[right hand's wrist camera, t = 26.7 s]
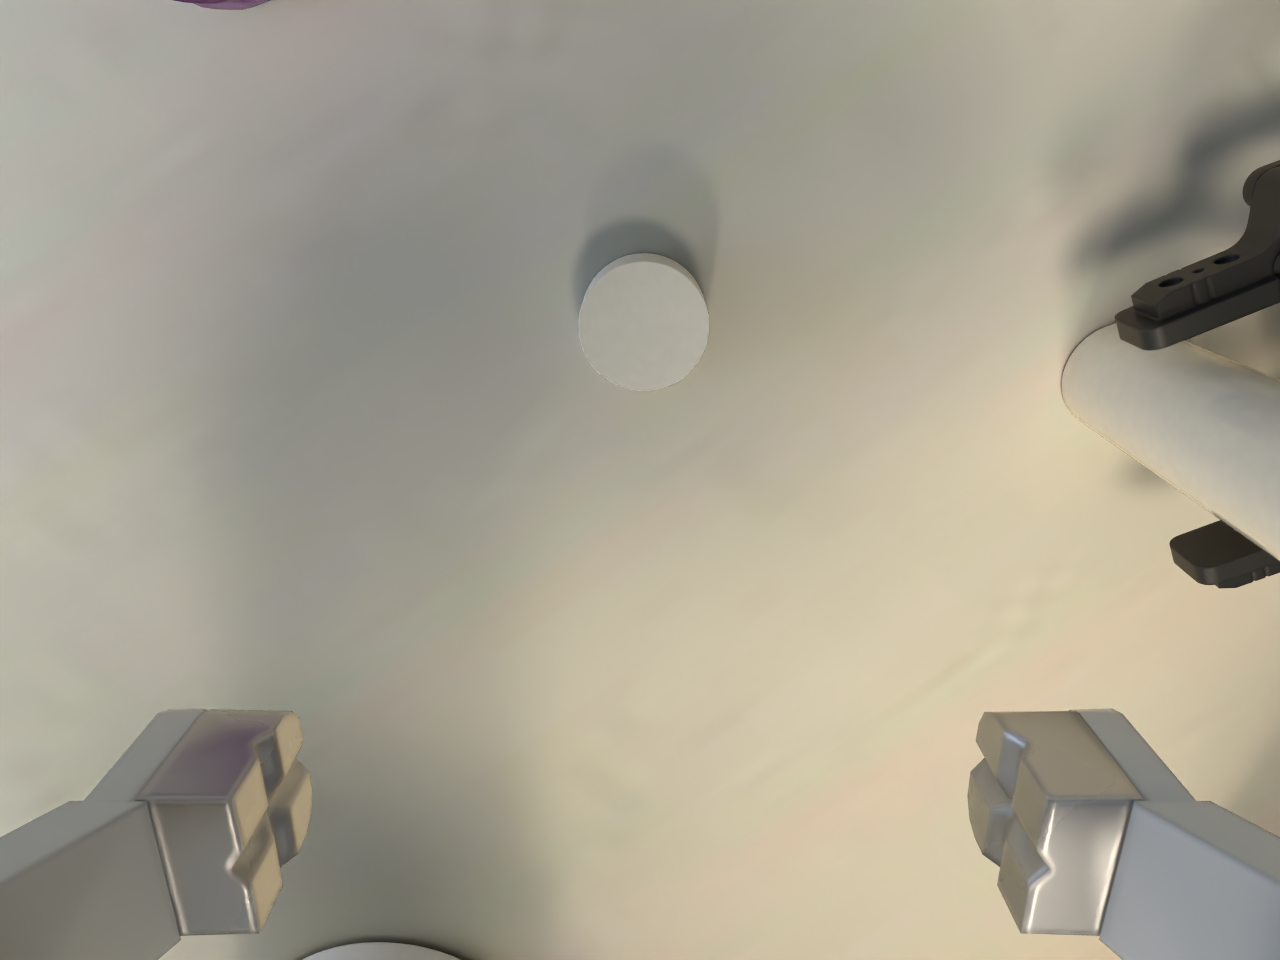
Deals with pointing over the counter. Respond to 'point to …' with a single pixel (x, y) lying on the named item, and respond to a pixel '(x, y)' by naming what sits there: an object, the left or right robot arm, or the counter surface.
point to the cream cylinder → (1187, 424)
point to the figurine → (226, 3)
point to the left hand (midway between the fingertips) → (1158, 455)
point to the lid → (643, 322)
